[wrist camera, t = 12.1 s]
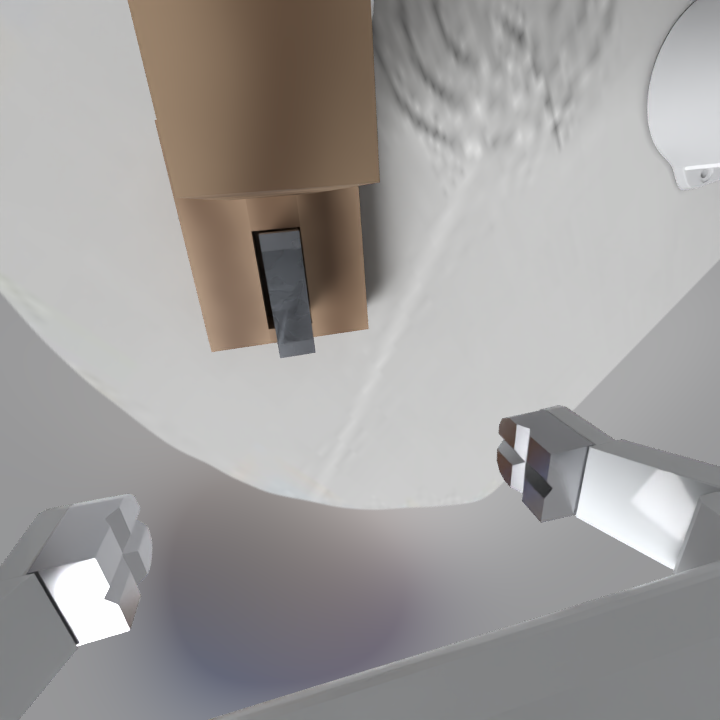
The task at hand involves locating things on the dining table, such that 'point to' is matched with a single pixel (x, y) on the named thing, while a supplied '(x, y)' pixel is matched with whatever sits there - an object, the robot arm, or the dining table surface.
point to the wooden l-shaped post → (265, 149)
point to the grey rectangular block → (287, 291)
